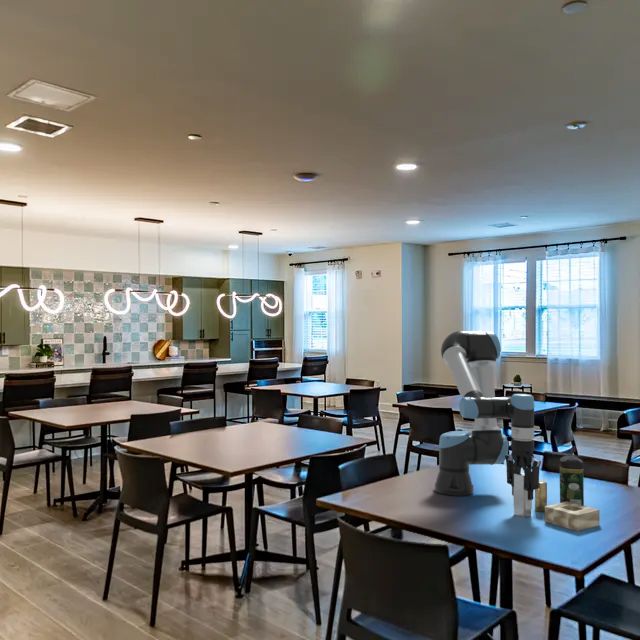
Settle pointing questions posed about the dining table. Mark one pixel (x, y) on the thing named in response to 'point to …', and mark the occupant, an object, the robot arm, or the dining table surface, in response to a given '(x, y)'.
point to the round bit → (541, 497)
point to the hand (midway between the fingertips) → (522, 507)
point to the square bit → (520, 495)
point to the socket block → (572, 516)
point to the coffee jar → (571, 480)
